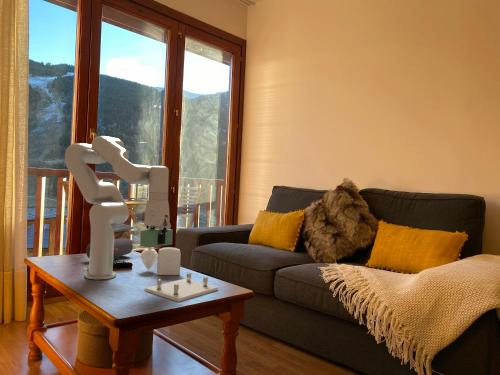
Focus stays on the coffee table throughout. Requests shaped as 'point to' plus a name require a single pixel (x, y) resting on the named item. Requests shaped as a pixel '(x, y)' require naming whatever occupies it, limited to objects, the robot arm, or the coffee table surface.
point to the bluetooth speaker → (117, 248)
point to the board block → (154, 238)
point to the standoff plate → (181, 288)
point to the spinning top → (149, 257)
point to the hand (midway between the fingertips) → (156, 242)
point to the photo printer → (168, 261)
